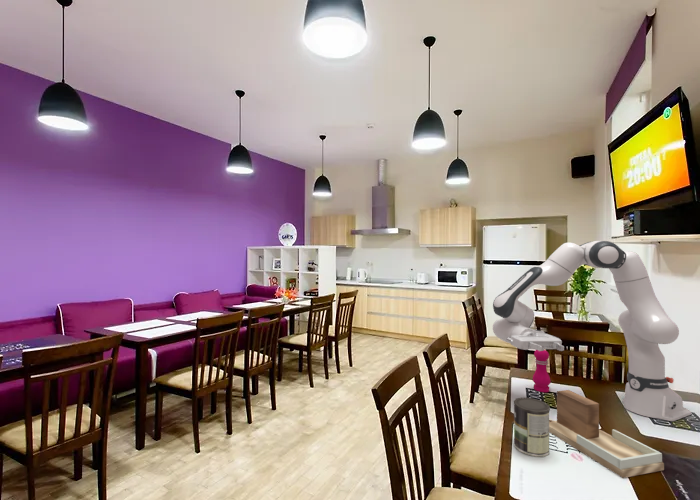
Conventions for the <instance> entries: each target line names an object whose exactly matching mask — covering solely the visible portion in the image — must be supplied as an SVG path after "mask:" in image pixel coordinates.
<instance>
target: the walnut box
mask: <svg viewBox="0 0 700 500" xmlns="http://www.w3.org/2000/svg"><path fill="white" fill-rule="evenodd" d="M556 421H557V422H558V423H559V424H561V425H563V426H564V427H566V428H568V429H570V430H571V431H573V432H575V433H577V434H578V435H580V436H582V437H584V438H586V439H591V438H598V437H599V429H600V403H598V402H596V401H595V400H592V399H591V398H590V399H589V398H587V397H585V396H583V395H580V394H578V393H577V392H575V391H572V390H570V389H565V390H557V391H556Z"/></svg>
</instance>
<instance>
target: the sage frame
mask: <svg viewBox="0 0 700 500" xmlns="http://www.w3.org/2000/svg"><path fill="white" fill-rule="evenodd" d="M611 436H612V437H613V438H614V439H616V440H618V441H620V442H622V443H624V444H626V445H628V446H630V447H631V448H633V449H635V450H637V451H639V452H641V453H643V454H644V455H639V456H633V457H627V458H621V459H620V458H619V457H617V456H615V455H613V454H612V453H610V452H608V451H606V450H605V449H603V448H601V447H599V446H598V445H596V444H594V443H593V442H591V441H589V440H587V439H586V438H584V437H582V436H580V435H577V443H578V444H580V445H581V446H583V447H584V448H586V449H588V450H589V451H591V452H593V453H594V454H596V455H598V456H599V457H601V458H603V459H604V460H606V461H608V462H609V463H611V464H613V465H614V466H616V467H618V468H619V469H621V470H622V469H627V468H633V467H638V466H644V465H649V464H655V463H660V462H663V453H662V452H660V451H659V450H656V449H654V448H652V447H650V446H648V445H646V444H644V443H642V442H640V441H638V440H636V439H635V438H632V437H630V436H628V435H626V434H624V433H622V432H620V431H618V430H617V429H615V428H614V429H611Z"/></svg>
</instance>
